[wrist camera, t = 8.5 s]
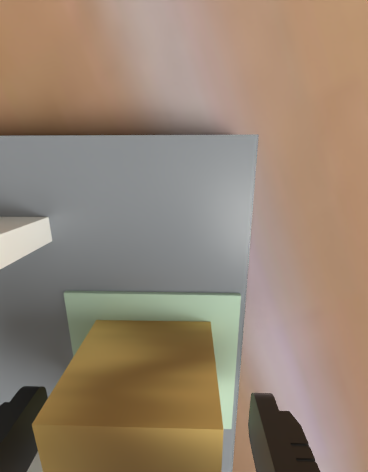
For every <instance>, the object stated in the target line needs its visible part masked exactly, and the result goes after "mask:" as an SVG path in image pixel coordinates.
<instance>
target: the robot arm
mask: <svg viewBox="0 0 368 472" xmlns="http://www.w3.org/2000/svg"><path fill="white" fill-rule="evenodd" d="M47 399H48V397H47V392H46V388H45V387H42V386H23V387H22V388H20V389H19V390H18V392H17V393H16V394H15V396H14V397H13V398H12V399H11V401H10V402H4V403H3V404H1V405H0V472H27V470H28V469H29V467H30V465H31V463H32V461H33V459H34V457H35V456H36V454H37V452H38V449H37V445H36V440H35V436H34V432H33V428H32V423H33V422H34V420H35V418H36V417H37V415H38V413H39V412H40V410H41V409H42V407H43V405H44V404H45V402H46V401H47ZM248 427H249V438H250V444H251V449H252V453H253V458H254V463H255V468H256V472H320V470H319V468H318V465H317V463H316V462H315V458H314V456H313V453H312V451H311V449H310V447H309V445H308V441H307V439H306V437H305V434H304V432H303V430H302V427H301V425H300V424H299V423H298V422H297V420H296V419H295V418H294V417H293V415H292V414H291V413H290V412H289V411H279V409H278V407H277V404H276V401H275V398H274V396H273V394H271V393H252V394H251V401H250V411H249V422H248Z"/></svg>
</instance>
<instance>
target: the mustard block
mask: <svg viewBox="0 0 368 472" xmlns="http://www.w3.org/2000/svg"><path fill="white" fill-rule="evenodd" d="M32 428H33V432H34V436H35V440H36V445H37V449H38V453H39V457H40V461H41V465H42V470H43V472H221V470H222V451H223V431H224V429H223V421H222V412H221V404H220V396H219V387H218V379H217V371H216V362H215V354H214V346H213V337H212V329H211V322H207V321H133V320H96V321H95V323H94V324H93V326H92V328H91V329H90V331H89V332H88V334H87V336H86V337H85V339H84V341H83V342H82V344H81V345H80V347H79V349H78V350H77V352H76V354H75V355H74V357H73V358H72V360H71V362H70V363H69V365H68V367H67V368H66V370H65V371H64V373H63V375H62V376H61V378H60V379H59V381H58V383H57V384H56V386H55V388H54V389H53V391H52V392H51V394H50V396H49V397H48V399H47V401H46V402H45V404H44V405H43V407H42V409H41V410H40V412H39V413H38V415H37V417H36V418H35V420H34V422H33V423H32Z"/></svg>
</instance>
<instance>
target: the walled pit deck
mask: <svg viewBox="0 0 368 472" xmlns="http://www.w3.org/2000/svg"><path fill="white" fill-rule="evenodd" d="M257 148H258V135H58V136H0V405H1V404H3V403H4V402H10V401H11V399H12V398H13V397H14V396H15V394H16V393H17V392H18V390H19V389H20V388H22V387H23V386H42V387H45V388H46V392H47V397H49V396H50V394H51V392H52V391H53V389H54V388H55V386H56V384H57V383H58V381H59V379H60V378H61V376H62V375H63V373H64V371H65V370H66V368H67V367H68V365H69V363H70V362H71V360H72V358H73V357H74V355H75V354H76V352H77V350H78V349H79V347H80V345H81V344H82V342H83V341H84V339H85V337H86V336H87V334H88V332H89V331H90V329H91V328H92V326H93V324H94V323H95V321H96V320H133V321H207V322H211V329H212V337H213V346H214V354H215V362H216V371H217V379H218V387H219V396H220V404H221V412H222V421H223V429H224V431H223V451H222V470H221V472H232V467H233V455H234V442H235V429H236V416H237V403H238V391H239V378H240V365H241V352H242V340H243V327H244V314H245V301H246V288H247V276H248V263H249V250H250V237H251V225H252V212H253V199H254V186H255V173H256V161H257ZM27 472H43V470H42V465H41V461H40V457H39V453H38V452H37V454H36V456H35V457H34V459H33V461H32V463H31V465H30V467H29V469H28V470H27Z"/></svg>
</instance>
